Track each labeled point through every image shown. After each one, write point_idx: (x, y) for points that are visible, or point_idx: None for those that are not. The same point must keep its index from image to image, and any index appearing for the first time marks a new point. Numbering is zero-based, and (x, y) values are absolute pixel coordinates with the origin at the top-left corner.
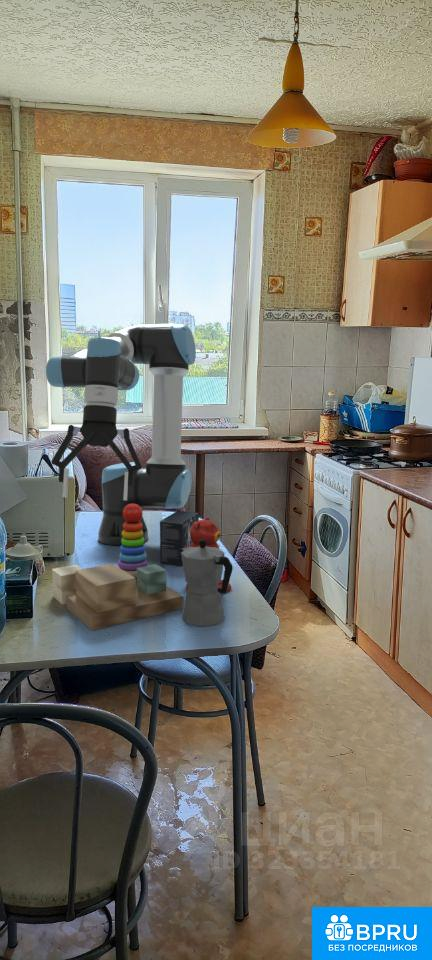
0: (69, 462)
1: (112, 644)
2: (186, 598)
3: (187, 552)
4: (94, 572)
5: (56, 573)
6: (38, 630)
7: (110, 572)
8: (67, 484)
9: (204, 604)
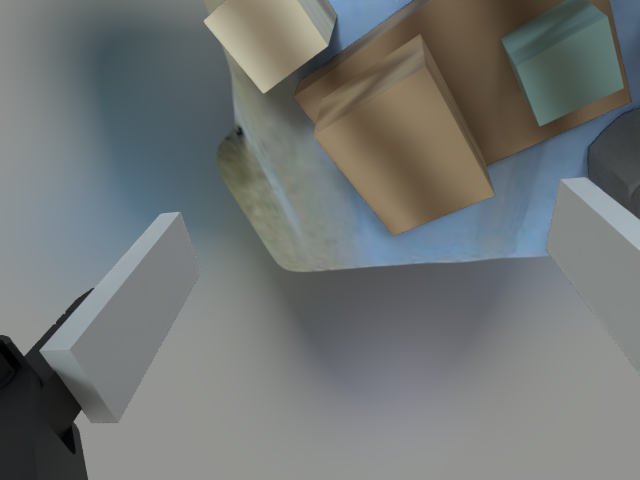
0: (55, 439)
1: (423, 238)
2: (617, 184)
3: None
4: (374, 153)
5: (236, 59)
6: (281, 189)
7: (423, 154)
8: (156, 288)
9: None
